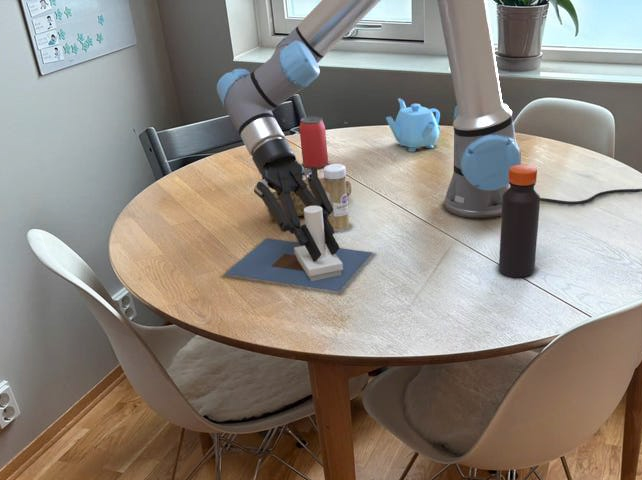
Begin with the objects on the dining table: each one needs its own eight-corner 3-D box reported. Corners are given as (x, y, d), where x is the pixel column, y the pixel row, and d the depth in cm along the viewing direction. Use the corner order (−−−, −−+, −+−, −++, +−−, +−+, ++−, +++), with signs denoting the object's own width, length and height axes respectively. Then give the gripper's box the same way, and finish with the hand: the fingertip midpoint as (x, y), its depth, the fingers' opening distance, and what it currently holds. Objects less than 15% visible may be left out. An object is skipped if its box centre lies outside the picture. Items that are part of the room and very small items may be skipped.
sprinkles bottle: (345, 232, 155) (340, 171, 147) (325, 230, 156) (319, 169, 148) (352, 224, 158) (348, 164, 151) (333, 222, 160) (328, 162, 152)
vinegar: (507, 259, 143) (513, 160, 132) (539, 267, 140) (548, 166, 129) (492, 273, 138) (497, 171, 127) (525, 281, 135) (533, 178, 124)
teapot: (381, 150, 199) (379, 108, 193) (399, 136, 210) (398, 96, 204) (433, 156, 195) (432, 113, 188) (449, 141, 205) (450, 100, 199)
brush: (327, 253, 146) (321, 196, 139) (343, 275, 137) (338, 216, 131) (295, 259, 143) (288, 202, 137) (310, 282, 135) (303, 222, 129)
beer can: (333, 163, 191) (329, 117, 185) (317, 171, 187) (313, 124, 180) (314, 159, 194) (309, 114, 187) (298, 166, 190) (292, 120, 183)
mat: (373, 254, 146) (373, 252, 145) (339, 294, 132) (339, 291, 132) (266, 240, 152) (266, 238, 152) (224, 276, 139) (224, 274, 139)
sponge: (275, 232, 158) (361, 203, 160) (262, 198, 155) (350, 169, 157) (272, 220, 170) (352, 193, 172) (260, 188, 167) (342, 161, 169)
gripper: (299, 149, 145) (354, 250, 144) (225, 168, 137) (283, 276, 135) (311, 127, 139) (369, 233, 137) (234, 147, 130) (295, 259, 129)
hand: (326, 254), depth 136 cm, fingers closed on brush, 3 cm apart
